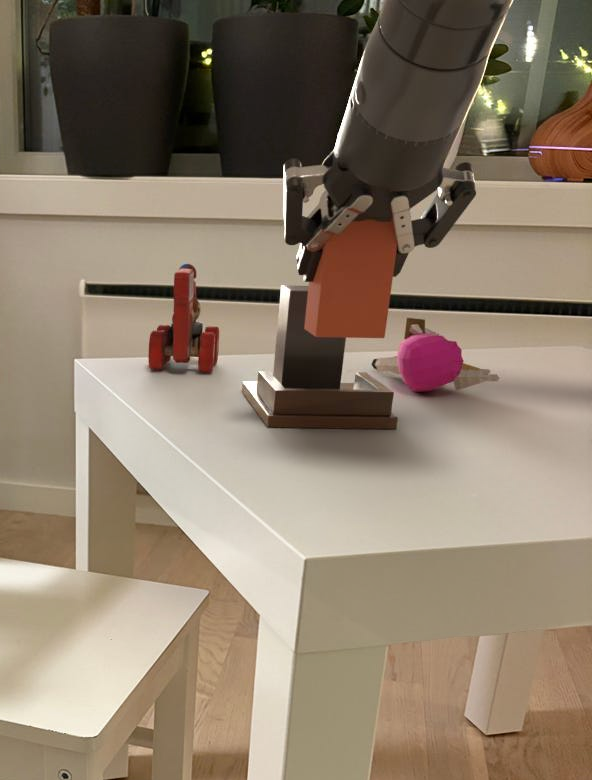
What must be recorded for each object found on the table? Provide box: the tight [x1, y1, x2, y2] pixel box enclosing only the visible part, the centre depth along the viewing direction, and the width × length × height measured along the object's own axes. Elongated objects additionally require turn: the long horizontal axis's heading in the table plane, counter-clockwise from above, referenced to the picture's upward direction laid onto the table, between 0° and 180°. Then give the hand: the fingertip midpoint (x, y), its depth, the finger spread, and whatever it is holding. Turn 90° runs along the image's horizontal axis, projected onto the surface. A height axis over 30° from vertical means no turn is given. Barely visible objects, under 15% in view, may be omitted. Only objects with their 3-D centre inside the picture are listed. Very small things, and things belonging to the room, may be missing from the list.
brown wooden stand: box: [241, 284, 399, 430], centre depth 87 cm, size 15×11×10 cm
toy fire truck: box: [147, 263, 220, 373], centre depth 105 cm, size 7×12×10 cm, turn 170°
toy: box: [370, 317, 500, 392], centre depth 99 cm, size 7×10×15 cm
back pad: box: [304, 219, 397, 339], centre depth 77 cm, size 4×6×9 cm
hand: (344, 273), depth 78 cm, fingers closed on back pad, 5 cm apart
